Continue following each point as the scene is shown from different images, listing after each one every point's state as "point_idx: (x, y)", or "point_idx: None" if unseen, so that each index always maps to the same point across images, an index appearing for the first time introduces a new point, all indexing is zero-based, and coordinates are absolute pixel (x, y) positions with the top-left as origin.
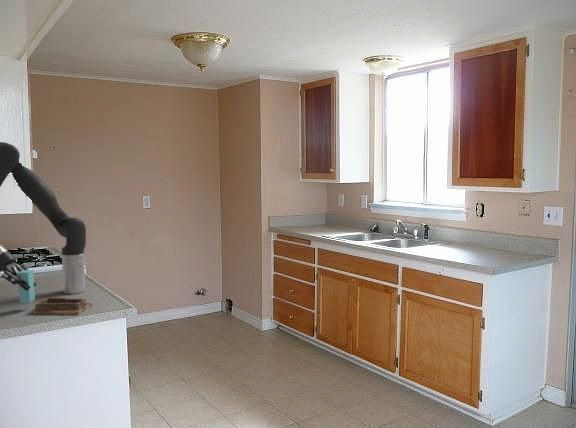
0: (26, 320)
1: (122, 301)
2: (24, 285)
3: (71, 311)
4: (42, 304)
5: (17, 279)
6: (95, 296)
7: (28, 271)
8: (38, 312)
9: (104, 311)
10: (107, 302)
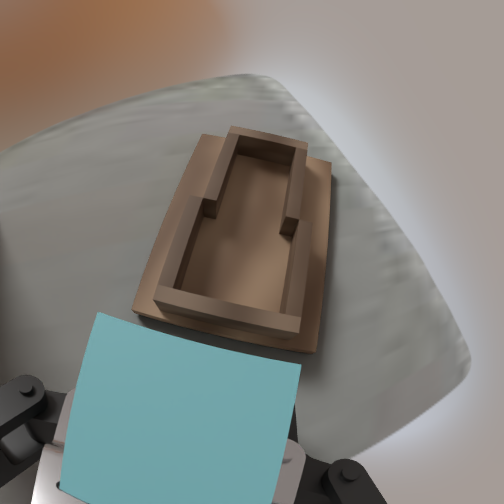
0: (390, 344)
1: (173, 86)
2: (293, 408)
3: (320, 181)
4: (304, 289)
5: (360, 473)
6: (67, 155)
7: (192, 386)
8: (319, 315)
9: (282, 113)
10: (169, 112)
